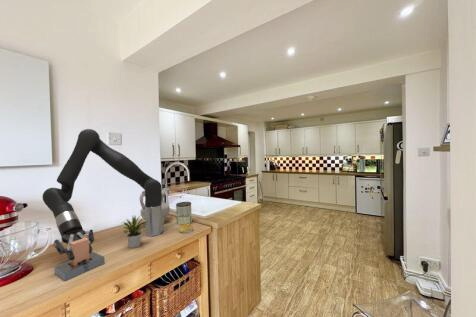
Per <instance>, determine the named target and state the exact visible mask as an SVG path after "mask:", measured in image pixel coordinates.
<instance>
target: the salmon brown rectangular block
mask: <svg viewBox="0 0 476 317" xmlns="http://www.w3.org/2000/svg"><path fill="white" fill-rule="evenodd" d="M70 247H71V250H72V252H73V254H74V256H75V258H74V260H72V261H71V260H69V261H70V263H71V266H72V267H75V266H78V262H79V261H82V260H83V261H84V262H88V261H90V255H89V238H87V237H86V238H83V239H79V240H76V241H73V242H70Z"/></svg>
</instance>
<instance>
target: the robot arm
mask: <svg viewBox="0 0 476 317" xmlns="http://www.w3.org/2000/svg"><path fill="white" fill-rule="evenodd" d="M100 137H101V136H100V134H99V132H97V131H96V130H94V129H92V128H86V129H83V130H81V131H80V132H79V134H78V135H77V139H76V143H75V146H74V148H73V150H72V153H71V155H70V157H69V158H68V159H67V161H66V163H65V164H64V166H63V167H62V170H61V171H60V172H59V174H58V176H57V178H56V182H57V183H58V184H60V185H61V187H60V188H58V187H49V188H47V189H45V190H44V192H43V193H42V202H43V203H44V204H45V206H47V208H48V209H49V210H50V211H51V212H52V214H53V216H54V218H55V223H56V227H57V230H58V232H59V235H60V236H61V238H59V239H55V240H54V242H53V247H54V248H55V250H57V252H58V253H59V254H60V255H63V254H66V256H67V258H68V261H70V260H71V261H72V260H74V258H75V256H74V254H73V252H72V250H71V247H70V242H73V241H76V240H79V239H83V238H87V237H88V239H89V254H91V253H92V252H93V247H92V244H93V243H94V242H95V235H94V230H93V229H91V228H90V229H89V230H85V229H83V226H82V224H81V222H80V219H79V217H78V215H77V213H76V212H75V210H74V207H73V205H72V204H71V203H70V202H69V201H70V200H71V199H72V196H73V192H74V187H75V182H76V181H77V179H78V177H79V175H80V174H81V172H82V169H83V167H84V164H85V162H86V159H87V158H88V155H89V154H90V152H92V153H93V154H94V155H96V156H98V157H99V158H101V160H103V161H104V162H105V163H107V165H109V166H110V167H111V168H112V169H114V171H116V172H118V173H119V174H121V175H122V176H124V177H126V178H127V179H130V180H132V181H133V182H135V183H137V185H139V186H140V187H141V188H142V189H143V191H145V196H144V197H145V198H144V205H145V214H146V221H145V222H146V223H145V225H146V226H145V235H146V236H147V237H155V236H159V235H161V234H162V233H163V232H164V231H165V227H164V226H165V225H164V223H165V222H163V216H162V206H161V201H162V190H163V189H162V183H161V182H160V181H159V180H157V179H155V178H154V177H151V175H148V174H147V173H146V172H144V171H143V170H142V169H141V168H140V167H139V166H138V165H137V164H136V163H135V162H134V161H132V160H131V159H130V158H129V157H128V156H126V155H124V154H123V153H121V152H119V151H118V150H115V149H113V148H111V147H110V146H109V145H108V144H106V143H105V142H104V141H103V140H102V139H101V138H100ZM148 221H150V222H148ZM146 227H147V228H146ZM85 235H86V236H85ZM62 243H65V244H66V248H65V247H64V246H63V244H62Z"/></svg>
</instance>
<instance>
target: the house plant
mask: <svg viewBox="0 0 476 317" xmlns="http://www.w3.org/2000/svg"><path fill="white" fill-rule="evenodd" d="M140 217H141V215H139V216H138V217H137V216H136V215H133V216H132V218H131V220H132V222H131V221H130V220H129V219H127V218H125V220H126V221H127V222H126V221H125V220H124V221H123V222H121V224H124V225H125V226H123V229H124V230H123V233H122V234H126V233H128V234H127V235H126V239H127V243H128V248H129V249H135V248H138V247H140V245H141V242H142V240H141V239H142V235H143V234H142V232H141V230H142V229H144V228H145V229H146V228H147V227H146V221H145V219H143V218H144V217H143V218H142V217H141V218H140ZM139 219H140V220H139ZM148 222H150V221H148ZM125 229H127V230H125Z"/></svg>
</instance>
